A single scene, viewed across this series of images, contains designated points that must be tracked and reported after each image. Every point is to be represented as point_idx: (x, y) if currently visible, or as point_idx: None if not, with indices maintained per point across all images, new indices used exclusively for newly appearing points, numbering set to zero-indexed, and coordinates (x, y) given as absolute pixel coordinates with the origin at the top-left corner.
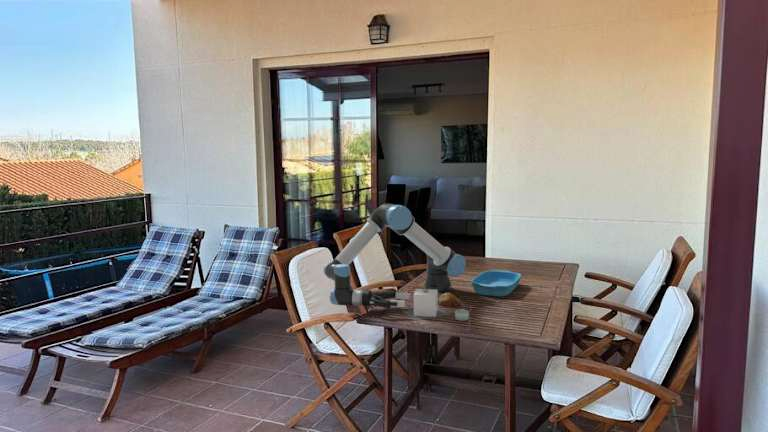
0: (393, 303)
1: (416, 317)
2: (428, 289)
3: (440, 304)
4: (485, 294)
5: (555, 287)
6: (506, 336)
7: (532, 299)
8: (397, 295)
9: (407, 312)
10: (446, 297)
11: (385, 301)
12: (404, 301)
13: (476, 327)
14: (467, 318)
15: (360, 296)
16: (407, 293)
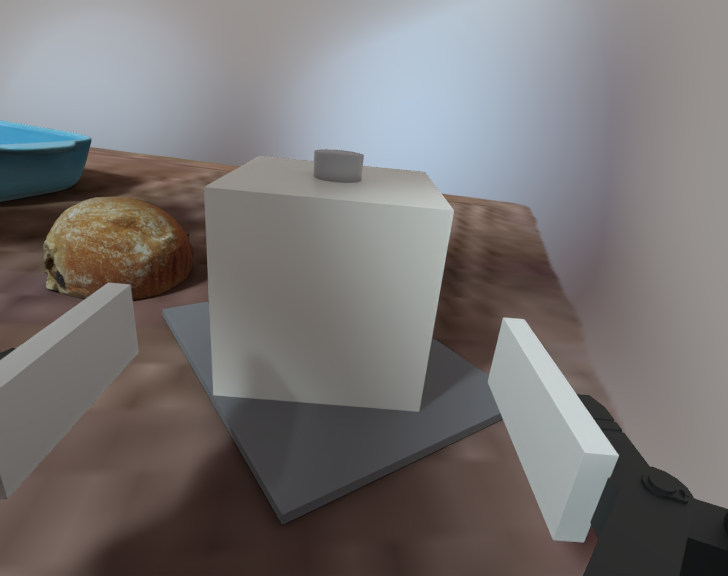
0: (620, 439)
1: (458, 396)
2: (246, 166)
3: (147, 284)
4: (13, 196)
5: None
6: (532, 231)
7: (149, 172)
8: (21, 422)
9: (318, 458)
10: (157, 222)
11: (675, 573)
12: (524, 321)
13: (485, 254)
14: None
15: None
16: (119, 294)
